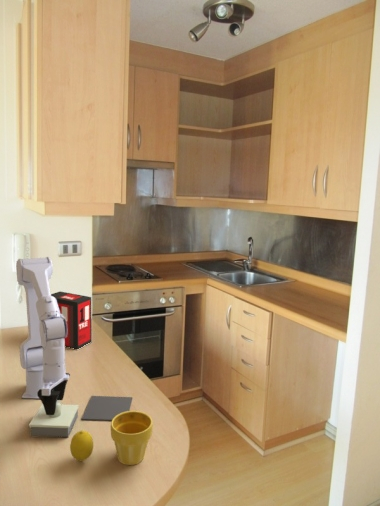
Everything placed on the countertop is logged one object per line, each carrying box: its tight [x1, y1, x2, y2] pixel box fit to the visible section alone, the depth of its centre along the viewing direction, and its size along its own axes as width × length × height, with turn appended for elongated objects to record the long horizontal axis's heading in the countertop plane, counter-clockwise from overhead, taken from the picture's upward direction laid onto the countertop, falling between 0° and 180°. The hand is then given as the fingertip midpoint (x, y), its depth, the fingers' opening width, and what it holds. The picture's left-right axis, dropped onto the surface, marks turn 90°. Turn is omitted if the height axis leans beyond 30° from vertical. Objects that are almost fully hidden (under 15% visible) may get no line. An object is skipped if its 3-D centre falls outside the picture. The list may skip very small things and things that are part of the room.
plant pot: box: [110, 410, 154, 466], centre depth 106 cm, size 10×10×10 cm
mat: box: [81, 395, 133, 422], centre depth 128 cm, size 13×13×1 cm
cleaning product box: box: [51, 291, 92, 350], centre depth 176 cm, size 16×9×20 cm, turn 66°
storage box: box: [30, 409, 79, 439], centre depth 118 cm, size 10×10×3 cm
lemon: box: [69, 430, 94, 462], centre depth 104 cm, size 6×6×8 cm
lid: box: [28, 400, 80, 428], centre depth 118 cm, size 11×11×5 cm
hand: (54, 406), depth 117 cm, fingers open, 7 cm apart
